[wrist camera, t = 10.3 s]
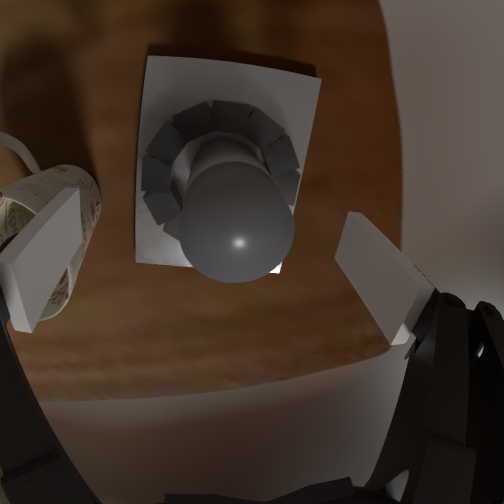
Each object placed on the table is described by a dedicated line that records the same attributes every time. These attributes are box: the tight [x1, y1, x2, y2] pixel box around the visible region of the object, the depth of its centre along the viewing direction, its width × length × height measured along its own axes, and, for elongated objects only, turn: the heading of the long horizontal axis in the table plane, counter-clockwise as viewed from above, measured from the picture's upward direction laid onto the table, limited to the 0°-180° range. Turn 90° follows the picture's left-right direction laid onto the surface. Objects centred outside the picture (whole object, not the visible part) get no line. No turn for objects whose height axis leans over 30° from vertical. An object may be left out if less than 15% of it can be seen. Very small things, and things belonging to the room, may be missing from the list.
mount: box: [135, 56, 322, 273], centre depth 22 cm, size 12×16×3 cm
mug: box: [0, 132, 101, 321], centre depth 17 cm, size 8×13×10 cm, turn 30°
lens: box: [179, 139, 295, 283], centre depth 18 cm, size 5×5×10 cm
